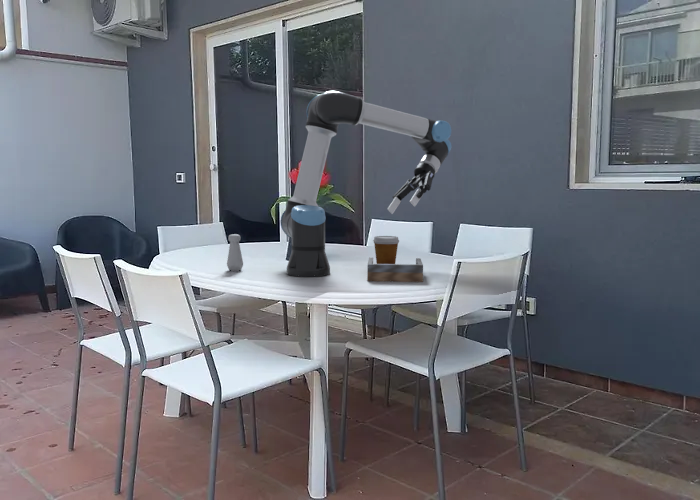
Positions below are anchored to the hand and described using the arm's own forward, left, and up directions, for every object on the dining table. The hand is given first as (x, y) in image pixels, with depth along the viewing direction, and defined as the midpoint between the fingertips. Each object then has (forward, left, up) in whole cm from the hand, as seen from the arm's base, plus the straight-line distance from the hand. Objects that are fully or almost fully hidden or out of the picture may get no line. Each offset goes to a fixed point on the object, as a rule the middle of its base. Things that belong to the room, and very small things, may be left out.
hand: (400, 207), depth 221 cm
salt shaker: (-59, -12, -23) cm, 64 cm away
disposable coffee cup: (-5, -5, -23) cm, 24 cm away
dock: (-2, -21, -22) cm, 31 cm away
